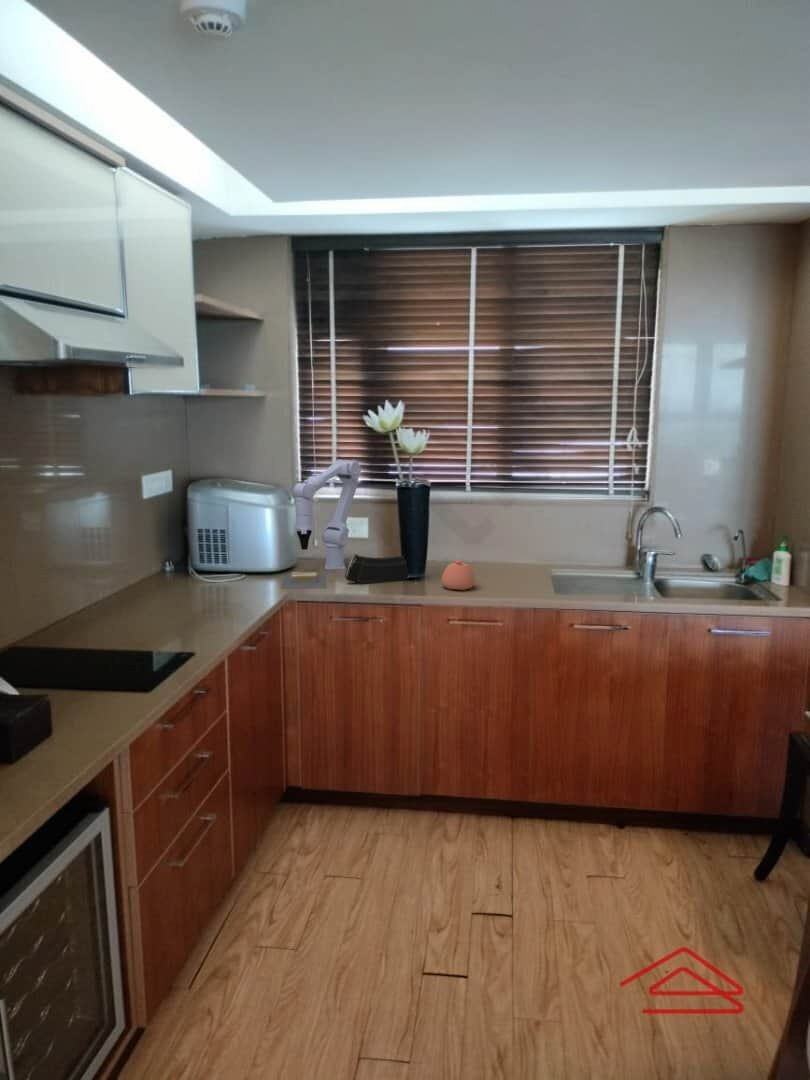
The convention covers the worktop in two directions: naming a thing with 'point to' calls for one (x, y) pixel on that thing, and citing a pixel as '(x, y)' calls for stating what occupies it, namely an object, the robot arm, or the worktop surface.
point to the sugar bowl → (458, 576)
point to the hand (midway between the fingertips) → (304, 549)
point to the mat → (289, 585)
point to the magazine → (376, 569)
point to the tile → (303, 577)
